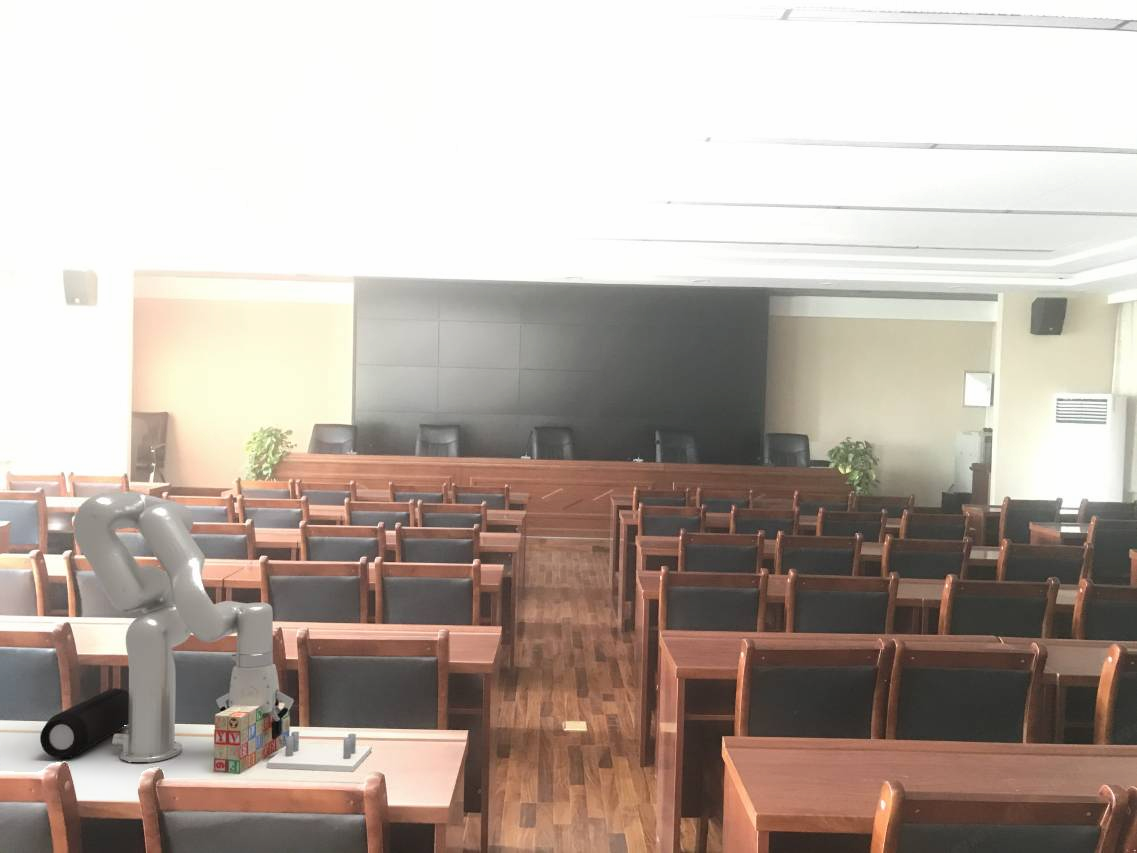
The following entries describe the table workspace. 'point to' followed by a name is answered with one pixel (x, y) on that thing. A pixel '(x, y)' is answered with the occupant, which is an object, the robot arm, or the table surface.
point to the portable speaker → (85, 723)
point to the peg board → (320, 755)
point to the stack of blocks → (245, 738)
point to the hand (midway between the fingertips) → (254, 737)
